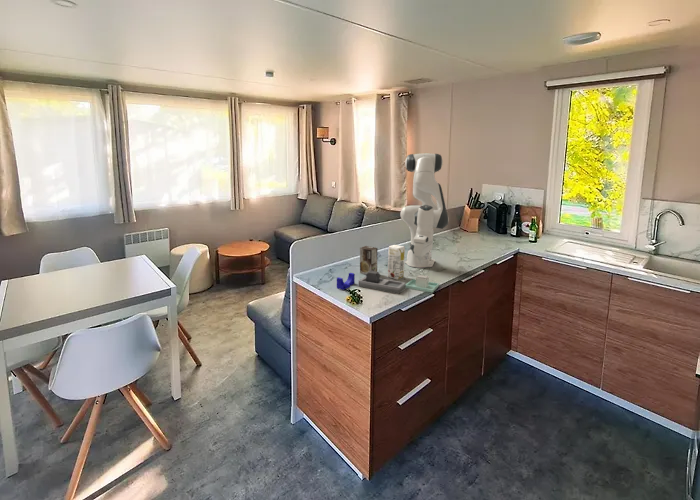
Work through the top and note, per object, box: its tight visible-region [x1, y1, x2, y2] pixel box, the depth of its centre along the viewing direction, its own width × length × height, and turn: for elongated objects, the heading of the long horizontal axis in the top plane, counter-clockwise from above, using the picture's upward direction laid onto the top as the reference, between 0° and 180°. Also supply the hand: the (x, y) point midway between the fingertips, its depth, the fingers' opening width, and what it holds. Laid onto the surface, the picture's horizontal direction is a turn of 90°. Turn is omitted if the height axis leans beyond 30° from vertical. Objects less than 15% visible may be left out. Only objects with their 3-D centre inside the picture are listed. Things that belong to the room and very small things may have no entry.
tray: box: [405, 278, 440, 294], centre depth 212 cm, size 12×16×2 cm
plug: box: [415, 274, 430, 288], centre depth 211 cm, size 4×6×6 cm
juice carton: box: [387, 244, 406, 281], centre depth 226 cm, size 8×9×19 cm
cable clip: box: [336, 272, 356, 291], centre depth 213 cm, size 12×4×6 cm, turn 142°
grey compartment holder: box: [358, 271, 407, 295], centre depth 211 cm, size 10×24×8 cm, turn 61°
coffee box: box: [359, 245, 378, 275], centre depth 234 cm, size 9×6×16 cm
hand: (423, 261), depth 208 cm, fingers open, 8 cm apart
